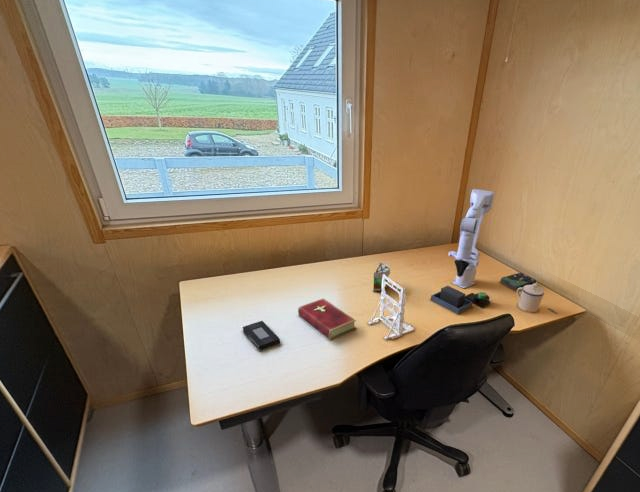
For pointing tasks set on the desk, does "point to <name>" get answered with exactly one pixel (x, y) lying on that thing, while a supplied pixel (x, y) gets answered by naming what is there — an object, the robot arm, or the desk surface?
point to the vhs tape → (261, 335)
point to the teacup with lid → (530, 297)
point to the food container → (380, 276)
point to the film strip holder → (392, 311)
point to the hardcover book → (327, 318)
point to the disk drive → (517, 281)
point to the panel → (478, 300)
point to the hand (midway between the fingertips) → (459, 275)
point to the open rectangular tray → (466, 305)
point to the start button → (482, 295)
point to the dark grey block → (452, 296)
